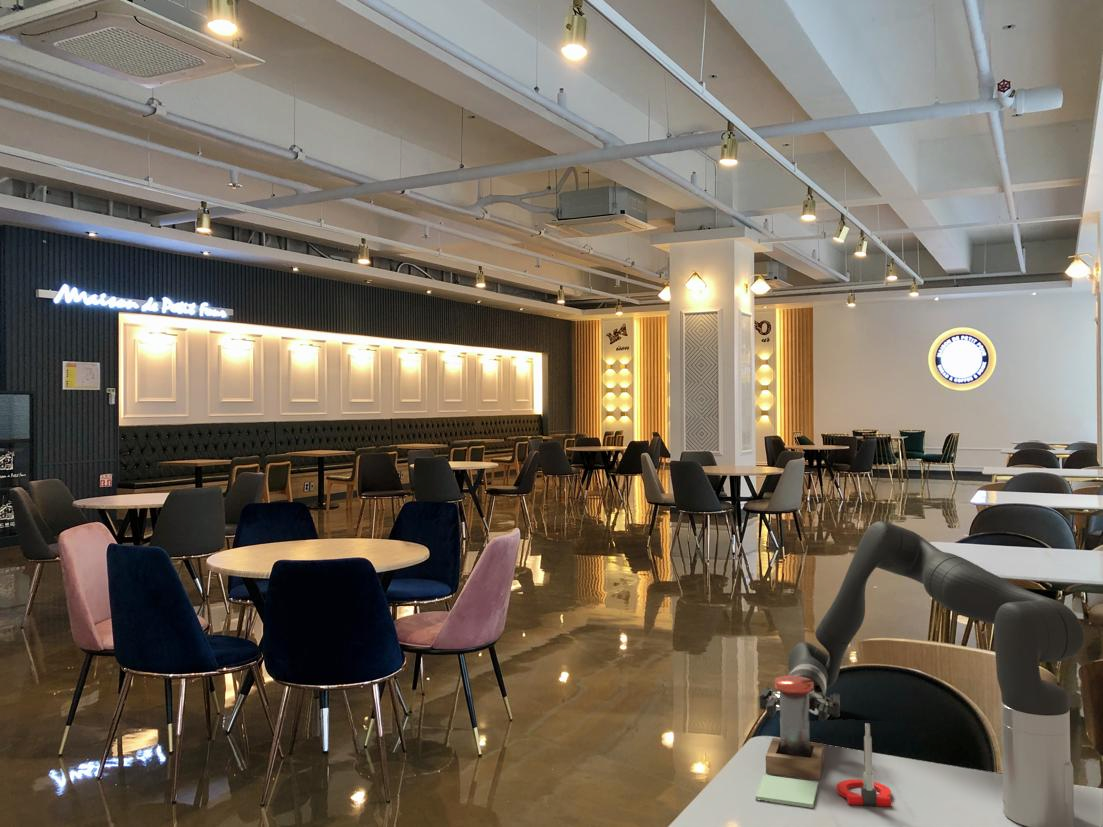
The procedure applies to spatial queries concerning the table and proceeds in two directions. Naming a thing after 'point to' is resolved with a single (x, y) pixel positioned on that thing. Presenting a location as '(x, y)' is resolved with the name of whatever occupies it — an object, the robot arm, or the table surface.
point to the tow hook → (866, 782)
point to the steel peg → (794, 714)
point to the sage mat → (787, 791)
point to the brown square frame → (795, 761)
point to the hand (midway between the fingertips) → (795, 714)
